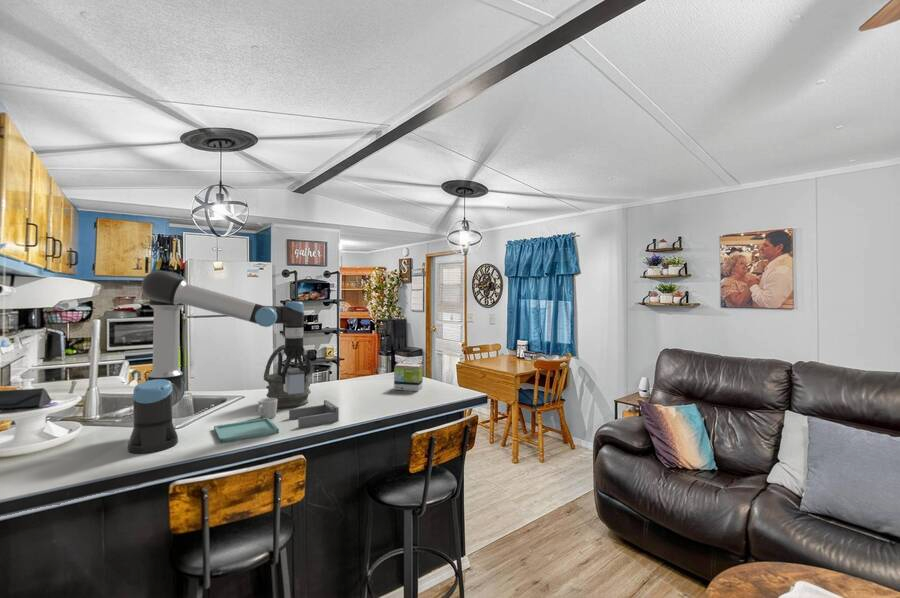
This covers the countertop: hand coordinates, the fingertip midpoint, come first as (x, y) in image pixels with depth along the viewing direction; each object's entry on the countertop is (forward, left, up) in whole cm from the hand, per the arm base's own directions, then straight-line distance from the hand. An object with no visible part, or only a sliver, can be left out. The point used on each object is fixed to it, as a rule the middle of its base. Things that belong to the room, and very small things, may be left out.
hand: (293, 390), depth 184 cm
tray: (-19, 0, -14) cm, 24 cm away
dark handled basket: (+7, +35, -15) cm, 38 cm away
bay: (+9, 0, -14) cm, 17 cm away
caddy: (0, 0, 0) cm, 0 cm away
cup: (-8, +14, -14) cm, 22 cm away
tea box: (+73, +29, -15) cm, 80 cm away
